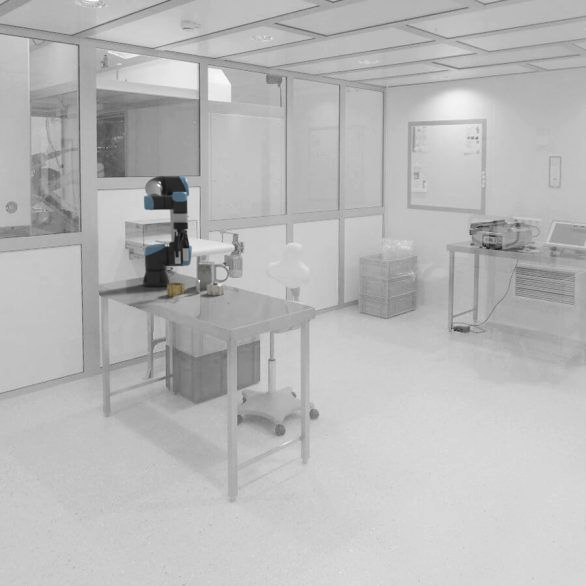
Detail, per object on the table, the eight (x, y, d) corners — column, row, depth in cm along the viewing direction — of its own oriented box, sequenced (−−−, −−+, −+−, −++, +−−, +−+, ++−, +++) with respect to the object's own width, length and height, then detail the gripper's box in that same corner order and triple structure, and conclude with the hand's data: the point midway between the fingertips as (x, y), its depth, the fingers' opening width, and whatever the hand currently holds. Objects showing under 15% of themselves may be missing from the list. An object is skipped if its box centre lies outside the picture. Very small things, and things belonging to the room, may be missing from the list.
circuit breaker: (217, 286, 376) (216, 260, 373) (211, 291, 362) (211, 264, 359) (204, 286, 377) (203, 260, 374) (198, 291, 363) (197, 264, 360)
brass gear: (170, 293, 356) (169, 282, 355) (186, 293, 356) (185, 282, 355) (165, 296, 348) (165, 285, 347) (182, 297, 347) (181, 285, 346)
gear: (209, 292, 355) (208, 281, 353) (225, 292, 354) (225, 281, 353) (205, 295, 346) (205, 284, 345) (222, 295, 345) (222, 284, 344)
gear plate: (192, 293, 356) (191, 279, 354) (225, 294, 354) (225, 280, 352) (187, 297, 347) (187, 282, 345) (222, 298, 345) (222, 283, 344)
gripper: (180, 223, 332) (181, 265, 335) (194, 220, 356) (195, 259, 359) (165, 223, 333) (167, 264, 336) (181, 220, 357) (182, 259, 360)
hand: (181, 262), depth 348 cm, fingers open, 13 cm apart
